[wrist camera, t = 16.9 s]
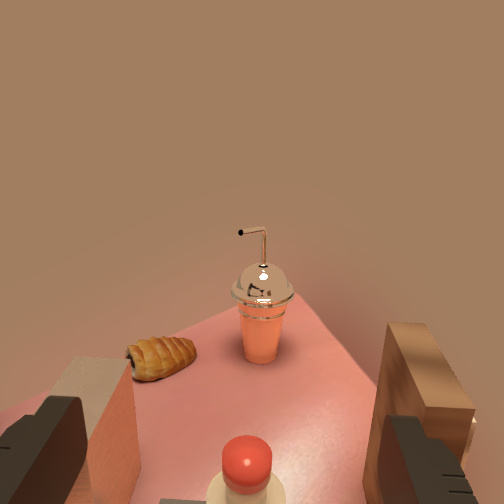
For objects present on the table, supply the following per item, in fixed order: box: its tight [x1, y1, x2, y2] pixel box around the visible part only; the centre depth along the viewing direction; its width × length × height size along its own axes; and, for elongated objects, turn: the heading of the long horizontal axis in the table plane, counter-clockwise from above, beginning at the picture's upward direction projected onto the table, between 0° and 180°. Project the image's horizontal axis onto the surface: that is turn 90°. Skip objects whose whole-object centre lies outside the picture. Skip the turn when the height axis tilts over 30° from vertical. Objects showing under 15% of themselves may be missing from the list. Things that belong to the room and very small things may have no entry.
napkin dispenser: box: [34, 357, 141, 504], centre depth 37 cm, size 10×5×13 cm, turn 177°
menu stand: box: [362, 322, 476, 504], centre depth 35 cm, size 10×4×18 cm, turn 177°
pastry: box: [125, 337, 197, 381], centre depth 59 cm, size 9×7×4 cm
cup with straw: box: [231, 226, 294, 364], centre depth 58 cm, size 8×9×20 cm
